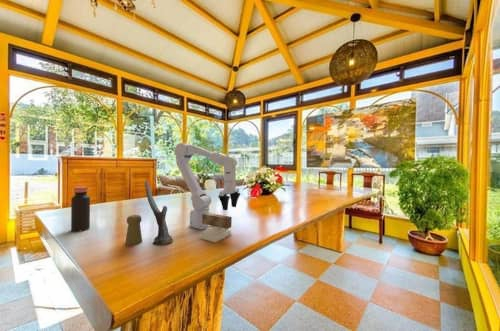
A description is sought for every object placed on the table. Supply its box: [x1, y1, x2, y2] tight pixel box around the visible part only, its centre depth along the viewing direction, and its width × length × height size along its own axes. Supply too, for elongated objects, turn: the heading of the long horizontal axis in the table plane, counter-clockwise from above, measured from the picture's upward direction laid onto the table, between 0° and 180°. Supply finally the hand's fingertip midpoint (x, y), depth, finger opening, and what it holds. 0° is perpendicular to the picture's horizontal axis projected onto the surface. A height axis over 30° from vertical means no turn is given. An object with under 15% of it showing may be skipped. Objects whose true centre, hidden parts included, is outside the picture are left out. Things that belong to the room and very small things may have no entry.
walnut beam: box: [202, 212, 233, 230], centre depth 92 cm, size 14×3×4 cm, turn 61°
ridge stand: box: [200, 226, 232, 243], centre depth 92 cm, size 8×11×5 cm
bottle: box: [70, 186, 91, 233], centre depth 96 cm, size 7×7×20 cm
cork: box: [125, 214, 143, 246], centre depth 83 cm, size 6×6×11 cm
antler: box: [144, 180, 174, 246], centre depth 84 cm, size 12×8×25 cm
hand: (229, 208), depth 102 cm, fingers open, 7 cm apart
